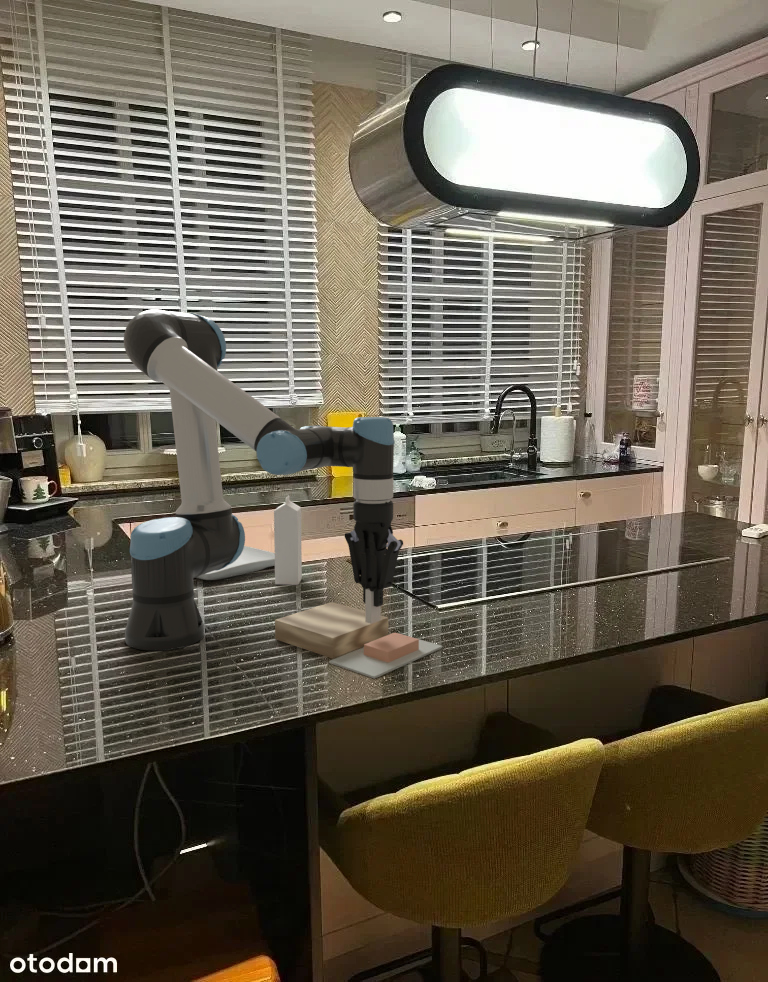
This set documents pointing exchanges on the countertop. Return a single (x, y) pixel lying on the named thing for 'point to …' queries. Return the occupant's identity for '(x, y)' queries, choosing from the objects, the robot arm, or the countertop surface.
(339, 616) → the board
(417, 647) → the pink block
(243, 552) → the square plate
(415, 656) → the mat
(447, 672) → the countertop surface
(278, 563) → the milk
